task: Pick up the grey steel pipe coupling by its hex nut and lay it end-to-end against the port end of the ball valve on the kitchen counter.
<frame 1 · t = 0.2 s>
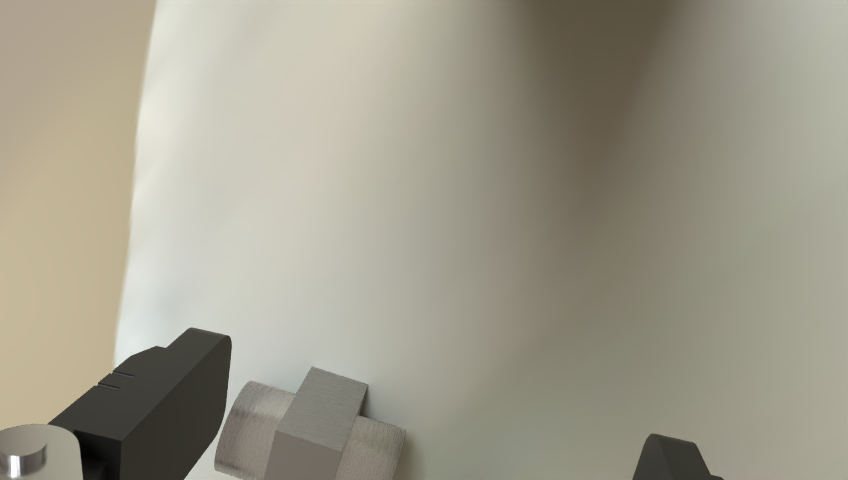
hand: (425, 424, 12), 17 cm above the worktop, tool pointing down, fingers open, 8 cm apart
coupling: (328, 417, 34), on the worktop
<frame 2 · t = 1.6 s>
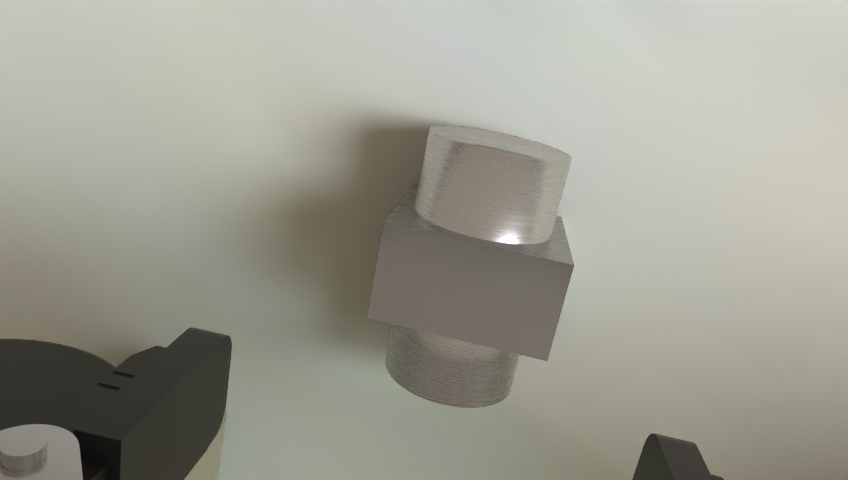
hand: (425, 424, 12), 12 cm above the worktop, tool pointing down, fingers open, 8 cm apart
coupling: (477, 239, 23), on the worktop
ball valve: (172, 441, 28), on the worktop
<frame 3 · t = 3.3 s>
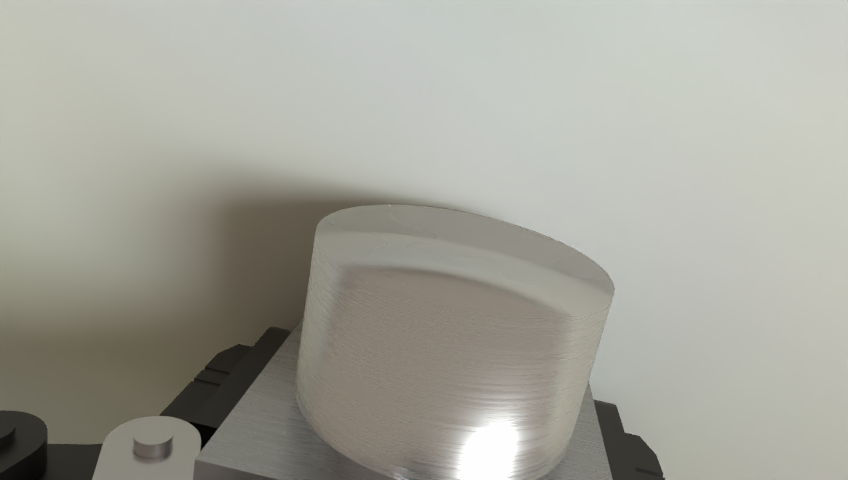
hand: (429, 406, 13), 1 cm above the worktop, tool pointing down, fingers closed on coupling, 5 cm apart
coupling: (434, 391, 13), on the worktop, touching gripper
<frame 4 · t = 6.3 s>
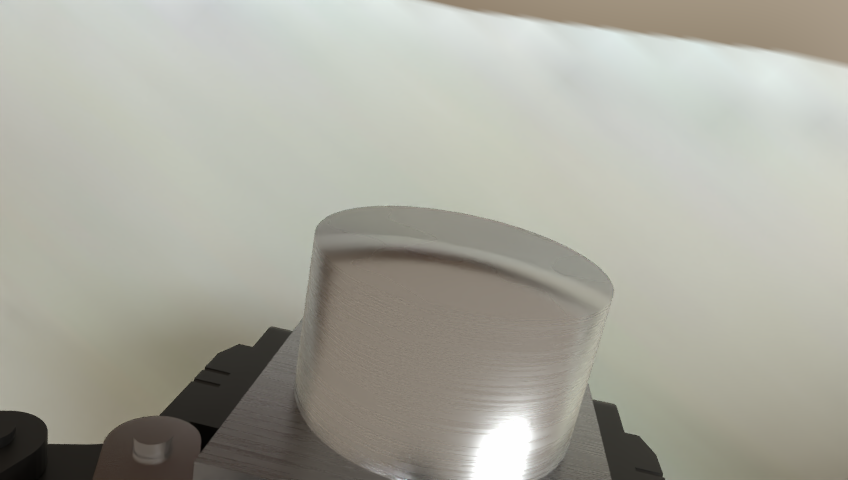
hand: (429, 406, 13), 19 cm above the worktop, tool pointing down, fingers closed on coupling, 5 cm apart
coupling: (434, 392, 13), point 19 cm above the worktop, touching gripper
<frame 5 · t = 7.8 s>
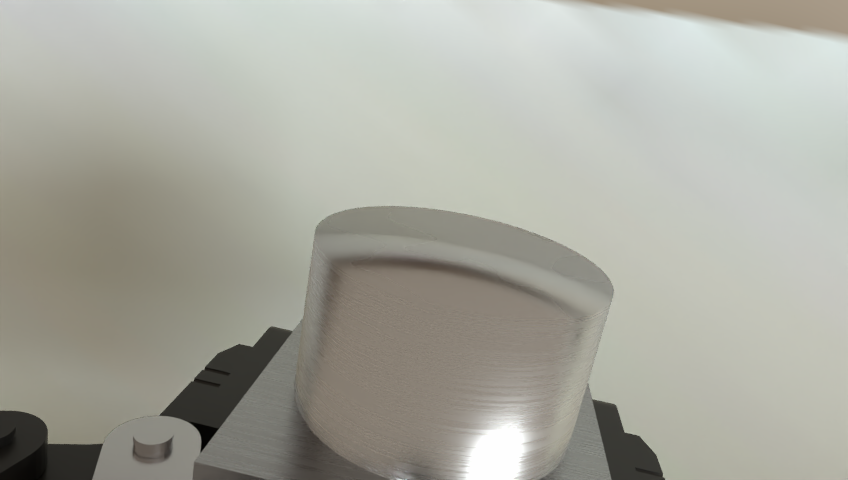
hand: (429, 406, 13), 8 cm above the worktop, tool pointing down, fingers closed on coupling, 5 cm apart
coupling: (434, 392, 13), point 8 cm above the worktop, touching gripper
when the fingers open (2 cm above the worktop, at t = 9.4 s): coupling drops 1 cm, on the worktop.
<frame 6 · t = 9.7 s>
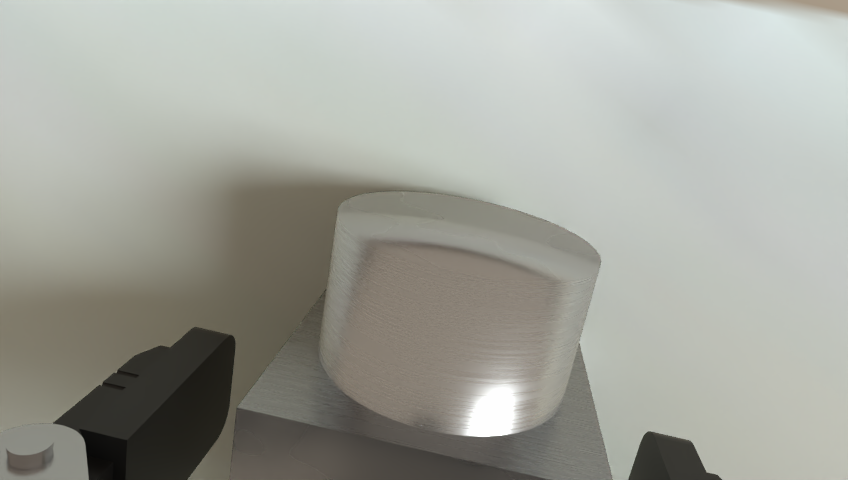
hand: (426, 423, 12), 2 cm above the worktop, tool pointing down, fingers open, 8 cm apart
coupling: (441, 364, 15), on the worktop
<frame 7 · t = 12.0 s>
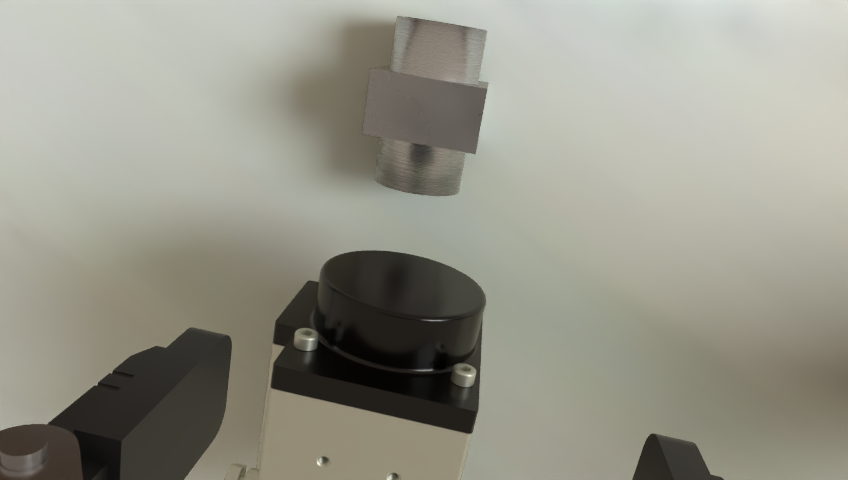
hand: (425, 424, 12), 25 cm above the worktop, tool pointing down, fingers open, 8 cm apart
coupling: (433, 102, 35), on the worktop
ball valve: (393, 347, 39), on the worktop
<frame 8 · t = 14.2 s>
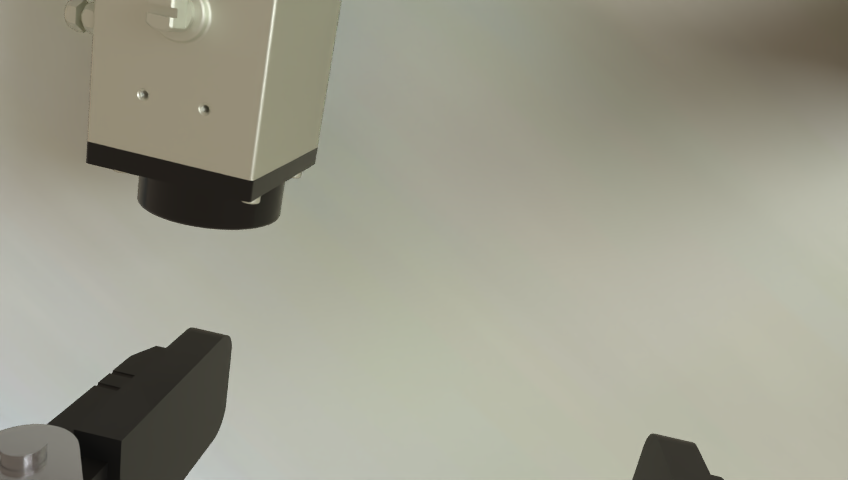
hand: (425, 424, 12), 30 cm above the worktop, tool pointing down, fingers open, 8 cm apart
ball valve: (297, 24, 40), on the worktop
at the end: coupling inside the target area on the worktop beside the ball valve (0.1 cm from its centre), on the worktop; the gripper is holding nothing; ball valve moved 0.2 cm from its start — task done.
